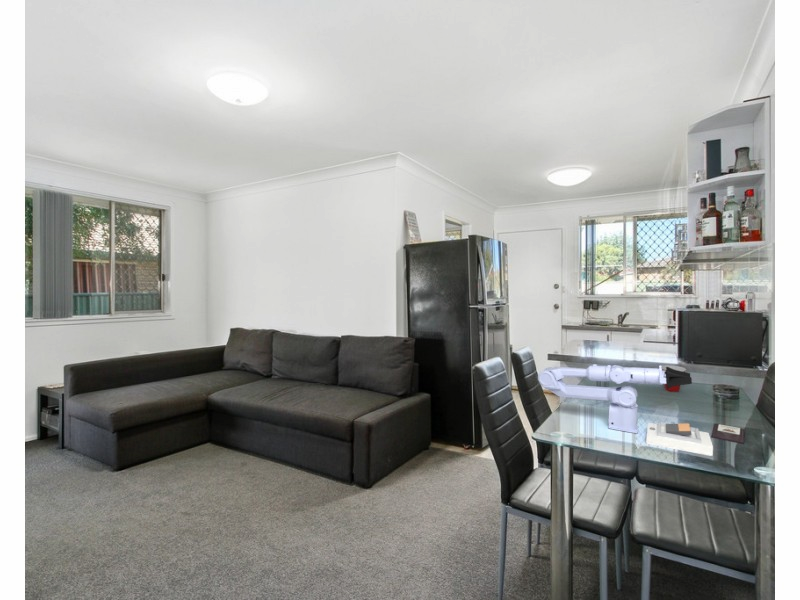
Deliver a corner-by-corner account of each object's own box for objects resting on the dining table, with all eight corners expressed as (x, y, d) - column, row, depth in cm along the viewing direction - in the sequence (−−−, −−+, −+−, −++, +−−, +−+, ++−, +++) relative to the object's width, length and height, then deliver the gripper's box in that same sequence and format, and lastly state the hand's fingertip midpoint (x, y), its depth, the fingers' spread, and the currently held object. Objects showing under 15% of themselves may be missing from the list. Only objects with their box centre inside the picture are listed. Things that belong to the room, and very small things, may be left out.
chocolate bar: (711, 436, 148) (714, 423, 162) (711, 438, 149) (714, 425, 162) (744, 442, 143) (744, 429, 156) (743, 445, 143) (744, 431, 157)
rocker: (667, 437, 141) (665, 430, 141) (666, 429, 149) (665, 423, 149) (692, 437, 137) (690, 430, 137) (690, 429, 145) (689, 423, 145)
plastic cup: (658, 390, 213) (659, 367, 212) (660, 386, 221) (661, 364, 221) (684, 394, 206) (685, 370, 206) (685, 390, 215) (686, 367, 214)
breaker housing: (646, 443, 142) (646, 431, 141) (647, 430, 154) (648, 419, 154) (712, 456, 132) (713, 443, 132) (708, 441, 145) (708, 429, 145)
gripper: (644, 368, 146) (691, 370, 139) (645, 361, 158) (689, 363, 151) (645, 388, 146) (692, 391, 139) (646, 380, 158) (689, 382, 151)
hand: (690, 378), depth 145 cm, fingers open, 7 cm apart
